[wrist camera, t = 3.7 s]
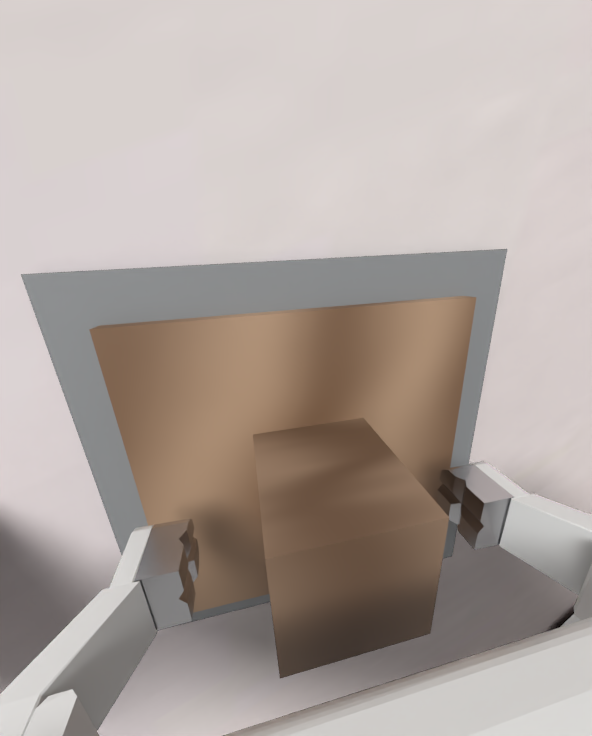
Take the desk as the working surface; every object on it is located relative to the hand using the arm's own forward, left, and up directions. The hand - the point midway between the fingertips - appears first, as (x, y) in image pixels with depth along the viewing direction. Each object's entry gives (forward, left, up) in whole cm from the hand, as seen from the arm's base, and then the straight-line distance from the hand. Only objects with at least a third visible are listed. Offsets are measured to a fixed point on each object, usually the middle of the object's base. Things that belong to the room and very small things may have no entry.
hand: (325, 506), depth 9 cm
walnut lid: (0, 0, -2) cm, 2 cm away
